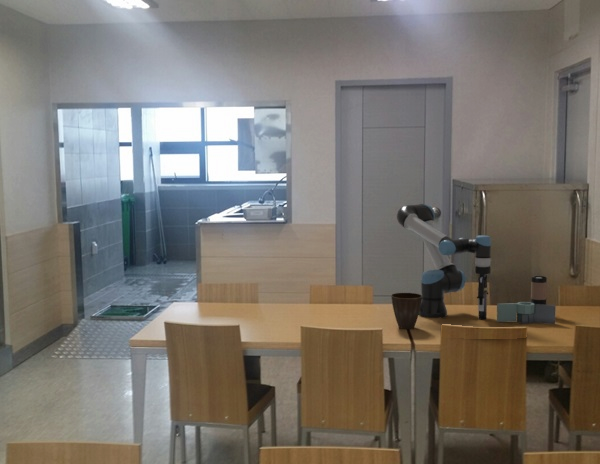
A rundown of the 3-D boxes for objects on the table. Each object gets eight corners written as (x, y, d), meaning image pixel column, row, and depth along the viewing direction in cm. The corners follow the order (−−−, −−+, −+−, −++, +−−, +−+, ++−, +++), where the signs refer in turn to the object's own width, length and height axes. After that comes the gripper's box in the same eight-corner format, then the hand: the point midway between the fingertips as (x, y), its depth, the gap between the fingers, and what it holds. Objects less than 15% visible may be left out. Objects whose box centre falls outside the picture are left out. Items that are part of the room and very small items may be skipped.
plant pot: (418, 323, 339) (418, 292, 338) (424, 330, 324) (425, 298, 323) (389, 324, 339) (389, 292, 337) (393, 331, 324) (393, 298, 322)
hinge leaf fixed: (516, 322, 337) (516, 304, 336) (517, 319, 345) (518, 301, 344) (554, 325, 330) (555, 307, 329) (555, 322, 338) (555, 303, 337)
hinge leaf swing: (531, 319, 343) (531, 301, 342) (535, 323, 335) (536, 305, 334) (495, 319, 344) (495, 302, 343) (499, 323, 336) (499, 305, 335)
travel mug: (547, 316, 350) (547, 278, 348) (531, 316, 352) (532, 278, 350) (544, 313, 358) (545, 276, 356) (529, 312, 359) (530, 275, 357)
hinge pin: (476, 319, 346) (476, 288, 345) (478, 317, 351) (478, 287, 349) (487, 320, 344) (487, 289, 343) (488, 318, 349) (488, 287, 347)
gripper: (487, 269, 333) (487, 313, 335) (493, 263, 354) (492, 305, 356) (472, 268, 336) (471, 312, 338) (478, 262, 357) (478, 304, 359)
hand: (482, 308), depth 347 cm, fingers open, 10 cm apart
